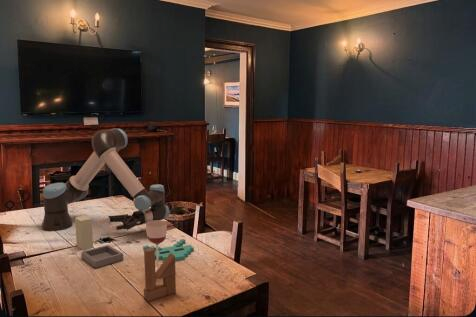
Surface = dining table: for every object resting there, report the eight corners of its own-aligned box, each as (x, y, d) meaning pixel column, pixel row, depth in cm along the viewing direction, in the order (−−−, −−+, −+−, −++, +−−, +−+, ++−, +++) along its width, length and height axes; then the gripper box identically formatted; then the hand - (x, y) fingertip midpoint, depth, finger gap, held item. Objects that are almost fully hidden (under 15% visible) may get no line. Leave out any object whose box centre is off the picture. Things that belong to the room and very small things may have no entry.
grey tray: (81, 258, 169) (81, 252, 169) (108, 251, 178) (108, 244, 177) (95, 268, 159) (95, 261, 158) (123, 260, 167) (123, 253, 167)
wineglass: (159, 277, 151) (157, 227, 148) (143, 271, 156) (141, 224, 153) (172, 269, 158) (171, 222, 155) (157, 264, 162) (155, 219, 160)
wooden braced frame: (176, 293, 139) (174, 245, 136) (148, 302, 132) (146, 252, 130) (171, 289, 141) (170, 242, 139) (143, 297, 135) (141, 249, 133)
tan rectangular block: (76, 246, 184) (74, 217, 182) (87, 243, 187) (85, 215, 185) (82, 250, 179) (80, 221, 177) (93, 247, 182) (91, 218, 180)
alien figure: (143, 250, 180) (154, 266, 162) (143, 245, 179) (154, 261, 162) (184, 243, 189) (199, 257, 171) (183, 238, 188) (199, 252, 171)
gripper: (155, 229, 194) (115, 240, 180) (130, 218, 212) (92, 227, 198) (154, 215, 193) (114, 224, 179) (130, 205, 211) (92, 213, 197)
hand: (103, 226), depth 188 cm, fingers open, 13 cm apart
